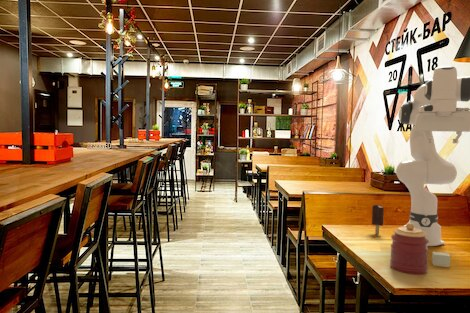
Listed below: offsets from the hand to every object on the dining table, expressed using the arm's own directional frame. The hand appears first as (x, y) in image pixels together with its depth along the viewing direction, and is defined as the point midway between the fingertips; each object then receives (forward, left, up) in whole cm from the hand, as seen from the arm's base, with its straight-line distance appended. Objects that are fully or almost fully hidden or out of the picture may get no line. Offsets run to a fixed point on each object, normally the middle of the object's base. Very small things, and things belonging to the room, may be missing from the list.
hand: (441, 143), depth 152 cm
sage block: (+3, +1, -48) cm, 48 cm away
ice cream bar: (-38, -20, -48) cm, 64 cm away
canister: (+13, -12, -48) cm, 51 cm away
